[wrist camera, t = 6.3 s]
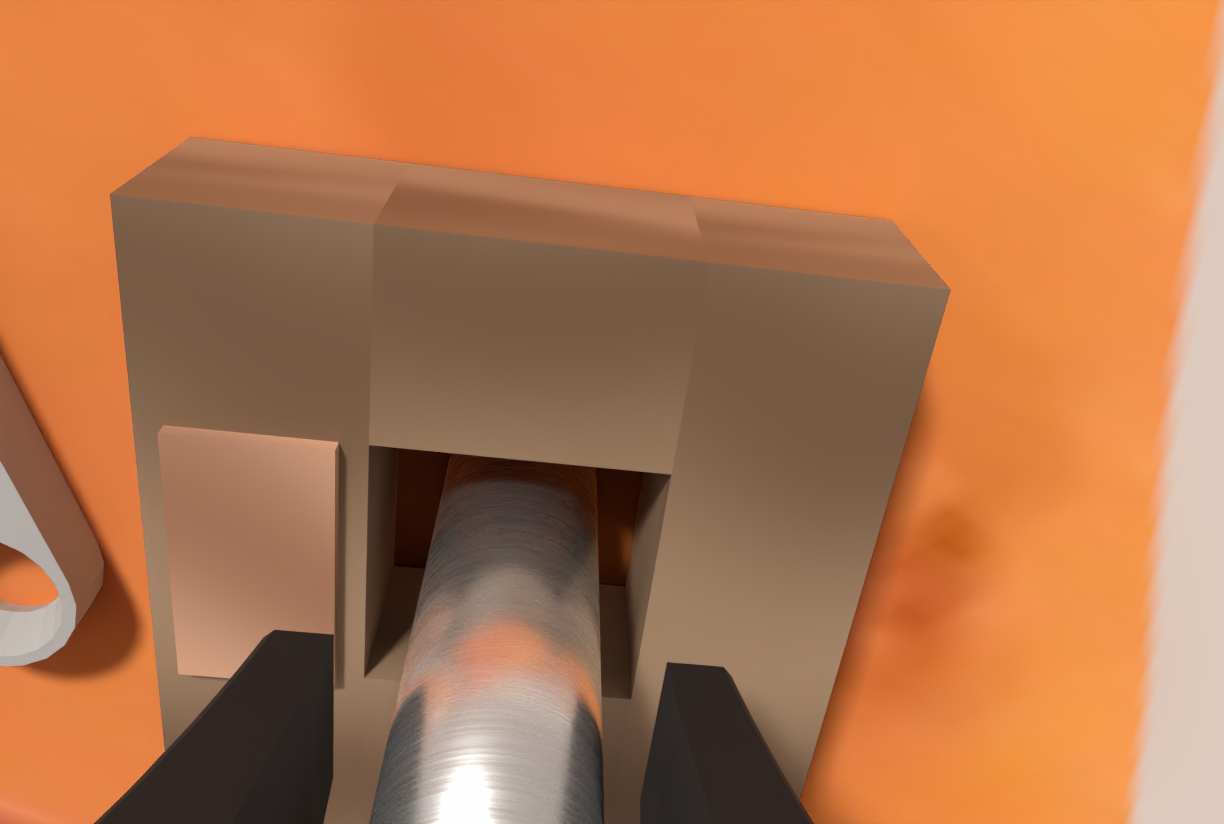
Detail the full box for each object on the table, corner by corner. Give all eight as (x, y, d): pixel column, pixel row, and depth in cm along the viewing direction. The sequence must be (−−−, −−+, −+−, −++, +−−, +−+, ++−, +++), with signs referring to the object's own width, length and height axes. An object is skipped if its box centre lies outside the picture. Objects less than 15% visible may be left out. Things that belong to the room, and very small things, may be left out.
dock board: (678, 1040, 22) (690, 1184, 20) (243, 1018, 21) (201, 1164, 19) (891, 220, 14) (956, 295, 11) (190, 137, 13) (102, 199, 11)
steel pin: (587, 545, 16) (591, 1085, 9) (443, 532, 16) (332, 1072, 9) (605, 420, 15) (625, 919, 8) (451, 404, 15) (333, 899, 8)
